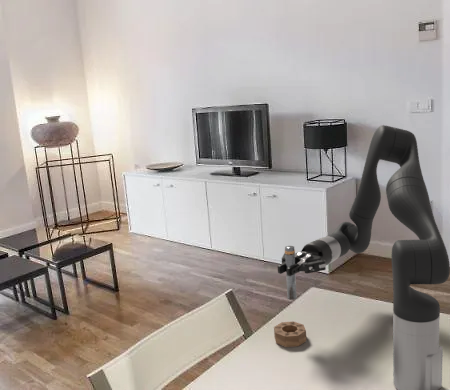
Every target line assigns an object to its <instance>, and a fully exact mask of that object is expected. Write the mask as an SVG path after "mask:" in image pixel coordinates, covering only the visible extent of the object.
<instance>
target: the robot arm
mask: <svg viewBox="0 0 450 390" xmlns="http://www.w3.org/2000/svg"><path fill="white" fill-rule="evenodd" d="M380 160H381V161H385V162H389V163H395V164H397V165H399V167H400V168H398V169H397V171H395V172H394V173H393V174H392V175H391V177H390V178H389V179H388V181H387V183H386V187H385V194H386V199H387V205H388V208H389V211H390V213H391V214H392V215H393V217H394V218H396V219H397V221H399V223H401V224H402V225H403V226H405V227H406V228H407V229H409V230H410V231H411V232H413V234H415V235H416V237H417V238H418V239H399V240H395V242H394V243H393V245H392V248H391V270H392V271H391V272H392V283H393V284H392V292H393V293H392V295H393V296H392V297H393V300H392V301H393V302H392V303H393V305H392V306H393V307H392V311H393V312H392V318H393V319H392V320H393V321H392V323H393V324H392V325H393V326H392V327H393V328H392V331H393V332H392V336H393V338H392V340H393V342H392V343H393V344H392V346H393V347H392V348H393V350H392V351H393V352H392V355H393V356H392V357H393V358H392V359H393V361H392V362H393V363H392V364H393V371H392V374H393V375H392V376H393V379H392V380H393V382H392V383H393V386H394V387H395V389H397V390H440V389H441V388H442V387H443V356H444V355H443V351H444V350H443V349H444V348H443V346H442V345H440V320H441V319H440V318H441V317H440V314H441V313H440V311H441V306H440V303H439V301H438V300H437V298H435V297H433V296H432V295H430V294H428V293H424V292H422V291H419V290H417V289H415V288H413V287H411V285H439V284H441V285H442V284H444V283H446V282H447V281H448V279H449V278H450V258H449V255H448V250H447V247H446V245H445V242H444V240H443V237H442V235H441V232H440V229H439V227H438V225H437V223H436V221H435V220H436V219H435V216H434V213H433V208H432V204H431V200H430V196H429V192H428V189H427V186H426V182H425V180H424V176H423V172H422V168H421V163H420V159H419V149H418V142H417V138H416V135H415V134H414V133H413V132H412V131H410V130H408V129H407V130H406V129H403V128H398V127H393V126H389V125H384V124H383V125H380V126H378V127H377V129H375V131H374V133H373V135H372V137H371V141H370V143H369V146H368V152H367V155H366V158H365V162H364V166H363V171H362V174H361V178H360V181H359V182H360V183H359V186H358V189H357V193H356V196H355V197H354V200H353V203H352V204H351V205H352V206H351V208H350V210H349V213H348V216H349V219H350V220H351V221H352V222H353V223H354V224H353V223H352V222H349V221H343V222H341V223H339V225H338V226H337V227H336V229H335V230H334V231H333V232H331V234H328V235H326V236H322V237H319V238H318V239H315V240H313V241H311V242H309V243H307V244H305V245H304V246H303V247H302V249H301V251H299V252H298V251H297V252H295V264H294V265H292V266H290V267H288V268H287V276H292V275H294V274H297V273H299V274H302V273H304V274H312V273H317V272H318V273H319V272H320V271H321V272H322V271H326V270H327V266H328V265H330V264H331V263H333V262H335V261H336V260H338V258H339V259H340V258H341V257H343V256H345V255H346V254H347V253H348V252H349V251H351V252H353V253H355V254H362V253H364V252H365V251H366V250H367V249H368V248H369V246H370V243H371V239H372V227H373V223H374V222H373V221H374V219H375V216H376V214H377V211H378V209H379V207H380V204H381V199H382V195H381V194H382V193H381V189H380V184H379V180H378V173H377V171H378V164H379V162H380ZM277 273H278V274H279V275H280V274H284V273H286V259H285V252H283V255H282V257H281V264H278V265H277Z"/></svg>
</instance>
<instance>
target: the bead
mask: <svg viewBox="0 0 450 390" xmlns="http://www.w3.org/2000/svg"><path fill="white" fill-rule="evenodd" d="M273 333H274V334H273V335H274V340H275V344H276V345H280V346H282V347H285V348H293V347H300V346H301V345H303V344H304V343H306V342H307V330H306V327H305V325H304V324H302V323H300V322H296V321H293V320H292V321H281V322H279V323H278V324H277V325H275V326H273Z"/></svg>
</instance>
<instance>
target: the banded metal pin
mask: <svg viewBox="0 0 450 390" xmlns="http://www.w3.org/2000/svg"><path fill="white" fill-rule="evenodd" d="M284 253H285V259H286V272H285V273H286V276H285V278H286V295H287V296H286V297H287V300H290V301H292V300H296V299H297V279H296V277H297V276H296V274H297V273H296V274H294V275H292V276H287V268H288V267H290V266H292V265H294V264H295V253H296V249H295V246H293V245H286V246H284Z"/></svg>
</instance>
